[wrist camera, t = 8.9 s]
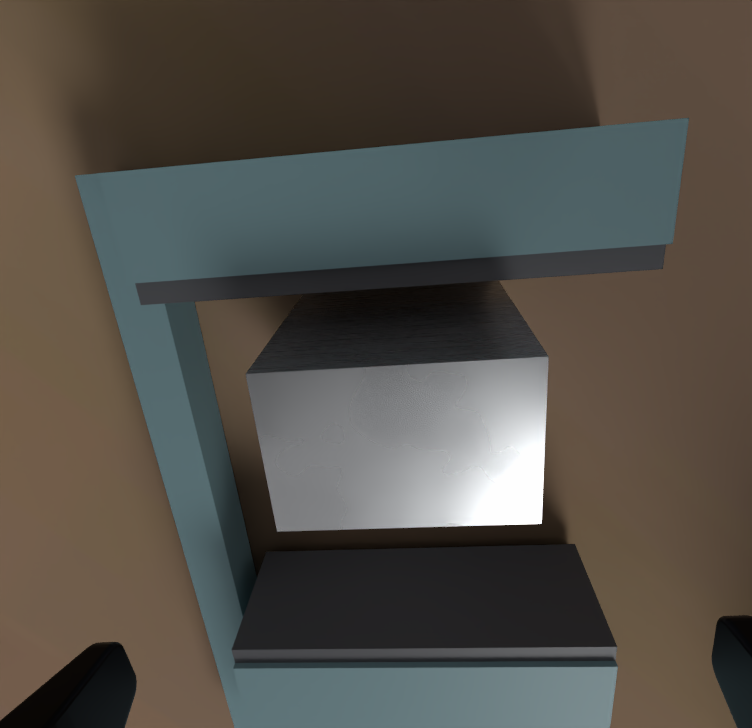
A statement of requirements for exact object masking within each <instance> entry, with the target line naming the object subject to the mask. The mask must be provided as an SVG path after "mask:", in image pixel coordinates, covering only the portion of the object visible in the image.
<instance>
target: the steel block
mask: <svg viewBox="0 0 752 728" xmlns="http://www.w3.org/2000/svg"><path fill="white" fill-rule="evenodd" d="M548 358H549V357H548V355H547V353H546V352H545V350H544V349H543V347H542V346H541V344H540V343H539V341H538V340H537V338H536V337H535V335H534V334H533V332H532V331H531V329H530V328H529V326H528V325H527V323H526V322H525V320H524V318H523V317H522V315H521V314H520V312H519V311H518V309H517V308H516V306H515V305H514V303H513V302H512V300H511V299H510V297H509V296H508V294H507V293H506V291H505V290H504V288H503V286H502V285H501V283H500V282H499V280H497V281H482V282H468V283H453V284H439V285H425V286H410V287H396V288H382V289H367V290H353V291H338V292H324V293H310V294H303V295H302V297H301V298H300V299H299V301H298V302H297V303H296V305H295V306H294V308H293V309H292V310H291V312H290V313H289V315H288V316H287V317H286V319H285V320H284V321H283V323H282V324H281V326H280V327H279V328H278V330H277V331H276V333H275V334H274V335H273V337H272V338H271V340H270V341H269V342H268V344H267V345H266V346H265V348H264V349H263V351H262V352H261V353H260V355H259V356H258V358H257V359H256V360H255V362H254V363H253V365H252V366H251V367H250V369H249V370H248V371H247V373H246V378H247V383H248V388H249V393H250V398H251V403H252V408H253V413H254V418H255V423H256V428H257V433H258V438H259V443H260V448H261V453H262V459H263V464H264V469H265V474H266V479H267V484H268V489H269V494H270V499H271V504H272V509H273V514H274V519H275V524H276V529H277V532H280V531H314V530H348V529H382V528H415V527H449V526H483V525H517V524H542V503H543V479H544V455H545V430H546V406H547V382H548Z"/></svg>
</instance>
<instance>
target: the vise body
mask: <svg viewBox="0 0 752 728" xmlns="http://www.w3.org/2000/svg"><path fill="white" fill-rule="evenodd" d="M688 121H689V118H682V119H672V120H661V121H650V122H640V123H629V124H618V125H608V126H597V127H586V128H576V129H565V130H554V131H544V132H533V133H522V134H512V135H501V136H490V137H480V138H469V139H458V140H448V141H437V142H426V143H416V144H405V145H394V146H384V147H373V148H362V149H352V150H341V151H330V152H320V153H309V154H298V155H288V156H277V157H266V158H256V159H245V160H235V161H224V162H213V163H203V164H192V165H181V166H171V167H160V168H149V169H139V170H128V171H117V172H107V173H98V174H87V175H76V176H75V178H76V182H77V185H78V188H79V192H80V195H81V199H82V202H83V206H84V209H85V213H86V216H87V220H88V223H89V226H90V230H91V233H92V237H93V240H94V244H95V247H96V251H97V254H98V258H99V261H100V264H101V268H102V271H103V275H104V278H105V282H106V285H107V289H108V292H109V296H110V299H111V302H112V306H113V309H114V313H115V316H116V320H117V323H118V327H119V330H120V333H121V337H122V340H123V344H124V347H125V351H126V354H127V358H128V361H129V365H130V368H131V371H132V375H133V378H134V382H135V385H136V389H137V392H138V396H139V399H140V403H141V406H142V409H143V413H144V416H145V420H146V423H147V427H148V430H149V434H150V437H151V440H152V444H153V447H154V451H155V454H156V458H157V461H158V465H159V468H160V472H161V475H162V478H163V482H164V485H165V489H166V492H167V496H168V499H169V503H170V506H171V510H172V513H173V516H174V520H175V523H176V527H177V530H178V534H179V537H180V541H181V544H182V548H183V551H184V554H185V558H186V561H187V565H188V568H189V572H190V575H191V579H192V582H193V585H194V589H195V592H196V596H197V599H198V603H199V606H200V610H201V613H202V617H203V620H204V623H205V627H206V630H207V634H208V637H209V641H210V644H211V648H212V651H213V655H214V658H215V661H216V665H217V668H218V672H219V675H220V679H221V682H222V686H223V689H224V692H225V696H226V699H227V703H228V706H229V710H230V713H231V717H232V720H233V724H234V727H235V728H249V725H248V721H247V718H246V714H245V710H244V707H243V703H242V699H241V696H240V692H239V688H238V685H237V681H236V677H235V674H234V670H233V668H234V665H235V661H234V657H233V654H232V647H233V644H234V641H235V639H236V636H237V633H238V630H239V627H240V625H241V622H242V619H243V616H244V613H245V610H246V608H247V605H248V602H249V599H250V596H251V593H252V591H253V588H254V585H255V582H256V579H257V576H256V571H255V567H254V563H253V558H252V554H251V549H250V545H249V541H248V536H247V532H246V527H245V523H244V518H243V514H242V510H241V505H240V501H239V496H238V492H237V488H236V483H235V479H234V474H233V470H232V466H231V461H230V457H229V452H228V448H227V444H226V439H225V435H224V430H223V426H222V421H221V417H220V413H219V408H218V404H217V399H216V395H215V391H214V386H213V382H212V377H211V373H210V369H209V364H208V360H207V355H206V351H205V347H204V342H203V338H202V333H201V329H200V324H199V320H198V316H197V311H196V307H195V301H209V300H223V299H238V298H252V297H267V296H281V295H295V294H310V293H324V292H338V291H353V290H367V289H382V288H396V287H410V286H425V285H439V284H453V283H468V282H482V281H497V280H511V279H525V278H540V277H554V276H568V275H583V274H597V273H612V272H626V271H640V270H655V269H663V263H664V255H665V247H666V244H673V237H674V229H675V221H676V214H677V206H678V198H679V191H680V183H681V175H682V168H683V160H684V152H685V144H686V137H687V129H688Z"/></svg>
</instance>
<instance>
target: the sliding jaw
mask: <svg viewBox="0 0 752 728" xmlns="http://www.w3.org/2000/svg"><path fill="white" fill-rule="evenodd" d="M616 652H617V645H616V643H615V640H614V638H613V636H612V633H611V631H610V628H609V626H608V624H607V621H606V619H605V616H604V614H603V611H602V609H601V607H600V604H599V602H598V599H597V597H596V594H595V592H594V590H593V587H592V585H591V582H590V580H589V577H588V575H587V573H586V570H585V568H584V565H583V563H582V560H581V558H580V556H579V553H578V551H577V548H576V546H575V544H560V545H520V546H480V547H440V548H400V549H360V550H320V551H280V552H266V554H265V557H264V559H263V562H262V565H261V568H260V571H259V574H258V576H257V579H256V582H255V585H254V588H253V591H252V593H251V596H250V599H249V602H248V605H247V608H246V610H245V613H244V616H243V619H242V622H241V625H240V627H239V630H238V633H237V636H236V639H235V641H234V644H233V647H232V654H233V657H234V661H235V665H234V668H233V670H234V674H235V677H236V681H237V685H238V688H239V692H240V696H241V699H242V703H243V707H244V710H245V714H246V718H247V721H248V725H249V728H610V723H611V715H612V707H613V700H614V692H615V684H616V677H617V669H618V666H617V664H616V661H615V660H616Z"/></svg>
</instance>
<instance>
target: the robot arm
mask: <svg viewBox="0 0 752 728" xmlns="http://www.w3.org/2000/svg"><path fill="white" fill-rule="evenodd" d="M712 664H713V669H714V672H715V675H716V678H717V680H718V683H719V685H720V687H721V690H722V692H723V695H724V697H725V699H726V702H727V704H728V707H729V709H730V711H731V714H732V716H733V719H734V721H735V723H736V726H737V728H752V616H748V615H739V616H723V617H721V618H719V620H718V621H717V625H716V631H715V638H714V645H713V651H712ZM136 683H137V681H136V675H135V673H134V670H133V668H132V666H131V664H130V661H129V659H128V657H127V654H126V652H125V650H124V648H123V646H122V645H121V644H120V643H118V642H101V643H95V644H93V645H91V646H89V647H88V648H87V649H85V650H84V651H83V652H82V653H81V654H79V655H78V656H77V657H76V658H75V659H73V660H72V661H71V662H70V663H69V664H67V665H66V666H65V667H64V668H63V669H61V670H60V671H59V672H58V673H57V674H55V675H54V676H53V677H52V678H51V679H49V680H48V681H47V682H46V683H45V684H44V685H42V686H41V687H40V688H39V689H38V690H36V691H35V692H34V693H33V694H32V695H30V696H29V697H28V698H27V699H26V700H24V701H23V702H22V703H21V704H20V705H18V706H17V707H16V708H15V709H14V710H12V711H11V712H10V713H9V714H8V715H6V716H5V717H4V718H3V719H2V720H0V728H125V725H126V722H127V718H128V715H129V712H130V709H131V706H132V702H133V699H134V696H135V692H136Z"/></svg>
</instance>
